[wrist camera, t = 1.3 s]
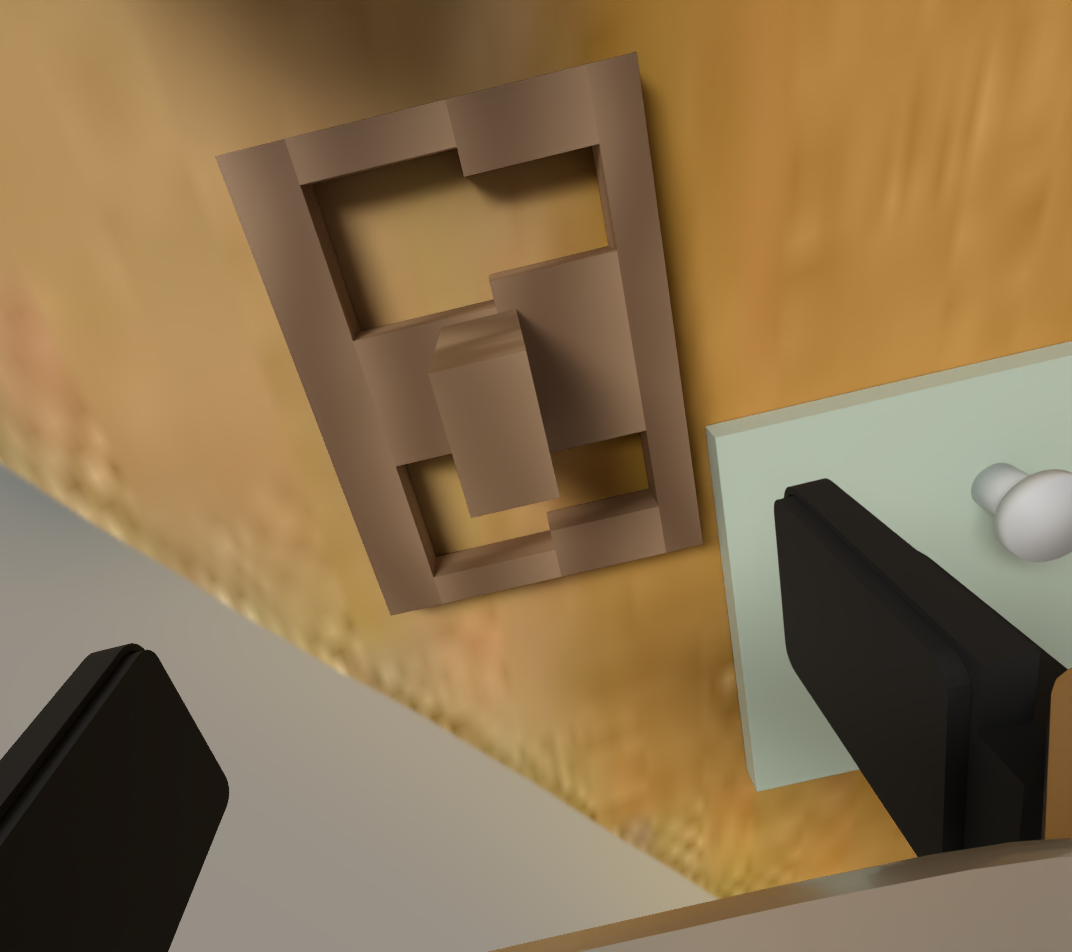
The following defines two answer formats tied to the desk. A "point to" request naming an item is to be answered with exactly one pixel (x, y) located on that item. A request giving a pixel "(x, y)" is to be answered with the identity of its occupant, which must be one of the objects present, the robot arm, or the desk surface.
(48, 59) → the desk surface
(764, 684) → the board
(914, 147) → the desk surface
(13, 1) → the desk surface
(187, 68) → the desk surface
